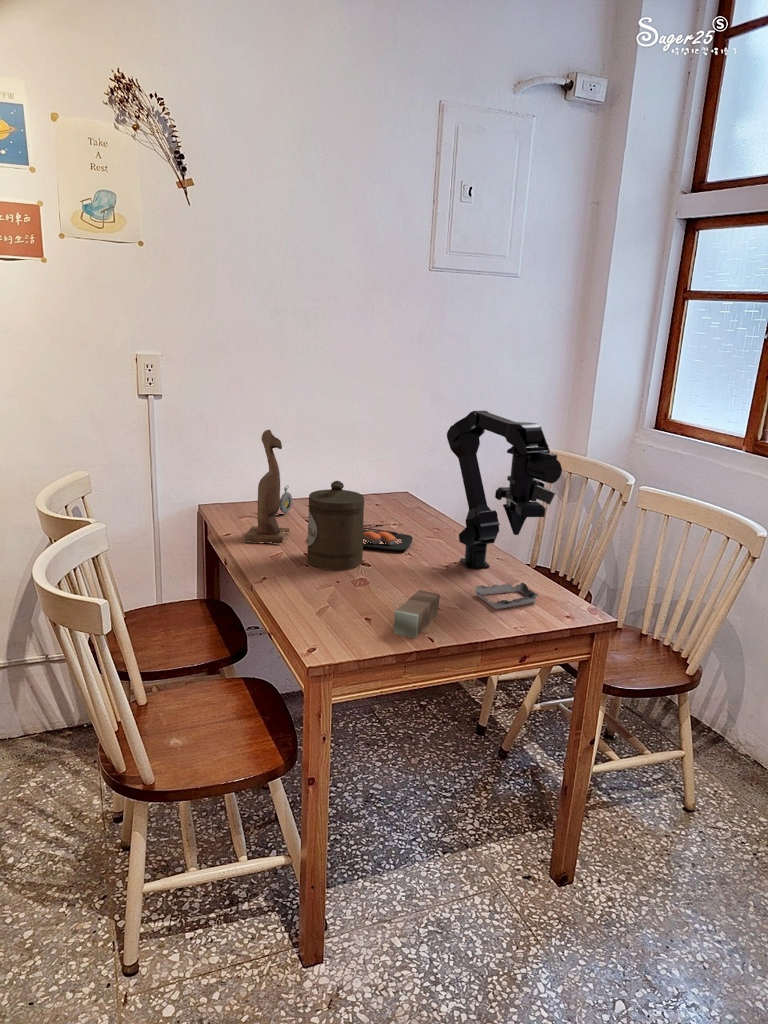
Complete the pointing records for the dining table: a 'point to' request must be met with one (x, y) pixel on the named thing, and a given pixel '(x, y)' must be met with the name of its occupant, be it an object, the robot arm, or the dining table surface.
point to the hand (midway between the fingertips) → (515, 534)
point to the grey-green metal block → (416, 613)
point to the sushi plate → (385, 539)
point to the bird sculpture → (268, 498)
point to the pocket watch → (285, 501)
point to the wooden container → (335, 528)
